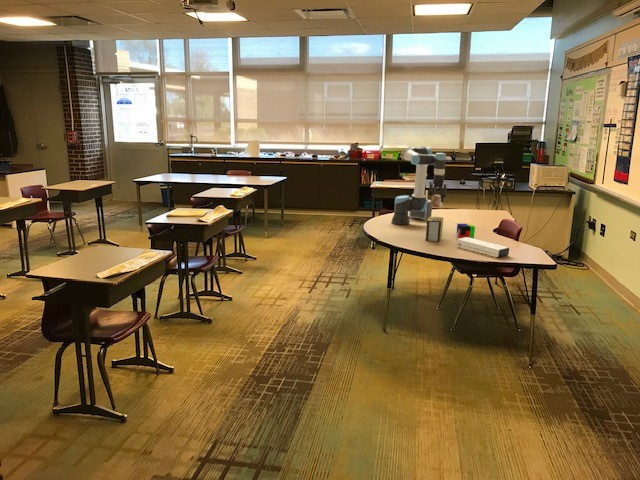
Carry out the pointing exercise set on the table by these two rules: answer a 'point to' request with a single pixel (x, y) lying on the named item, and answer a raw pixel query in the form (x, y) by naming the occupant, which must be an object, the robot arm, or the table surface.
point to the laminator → (482, 247)
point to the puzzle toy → (465, 230)
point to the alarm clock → (422, 213)
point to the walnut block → (435, 200)
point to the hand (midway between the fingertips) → (436, 205)
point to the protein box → (434, 229)
